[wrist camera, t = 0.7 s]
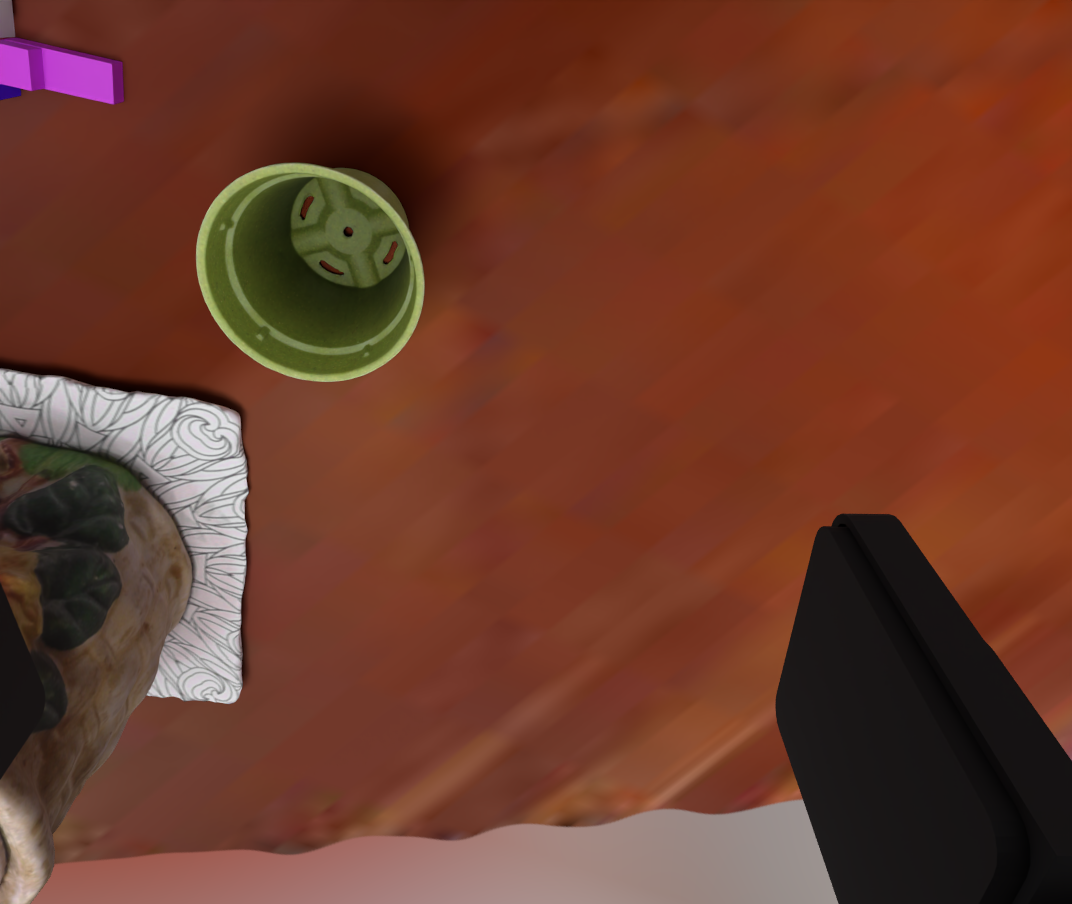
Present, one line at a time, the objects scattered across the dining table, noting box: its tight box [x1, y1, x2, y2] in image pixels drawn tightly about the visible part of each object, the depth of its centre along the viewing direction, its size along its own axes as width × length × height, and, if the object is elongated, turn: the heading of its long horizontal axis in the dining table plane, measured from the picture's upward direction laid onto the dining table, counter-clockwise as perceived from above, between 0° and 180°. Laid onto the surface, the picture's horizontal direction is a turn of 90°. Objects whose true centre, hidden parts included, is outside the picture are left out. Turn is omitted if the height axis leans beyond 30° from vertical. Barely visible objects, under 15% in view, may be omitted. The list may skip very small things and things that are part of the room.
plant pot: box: [196, 163, 424, 382], centre depth 37 cm, size 9×9×9 cm
